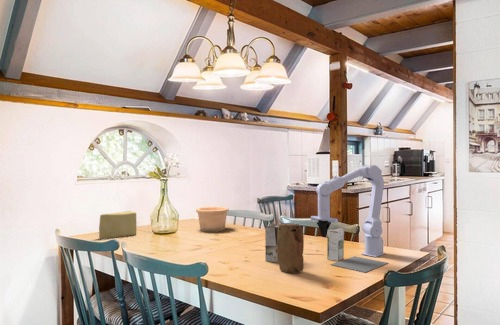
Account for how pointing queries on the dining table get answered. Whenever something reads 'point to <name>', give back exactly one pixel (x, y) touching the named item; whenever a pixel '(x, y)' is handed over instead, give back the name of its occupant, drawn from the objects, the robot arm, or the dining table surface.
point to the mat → (359, 264)
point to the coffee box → (271, 243)
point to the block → (290, 247)
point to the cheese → (117, 225)
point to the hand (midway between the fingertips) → (324, 236)
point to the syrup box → (335, 244)
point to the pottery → (212, 218)
